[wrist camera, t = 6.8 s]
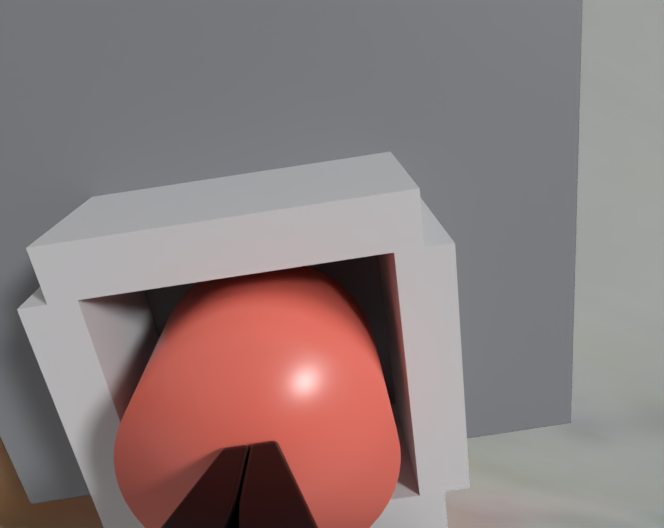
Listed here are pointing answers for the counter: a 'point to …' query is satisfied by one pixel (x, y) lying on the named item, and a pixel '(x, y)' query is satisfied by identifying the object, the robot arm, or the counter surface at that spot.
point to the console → (288, 209)
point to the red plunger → (263, 397)
